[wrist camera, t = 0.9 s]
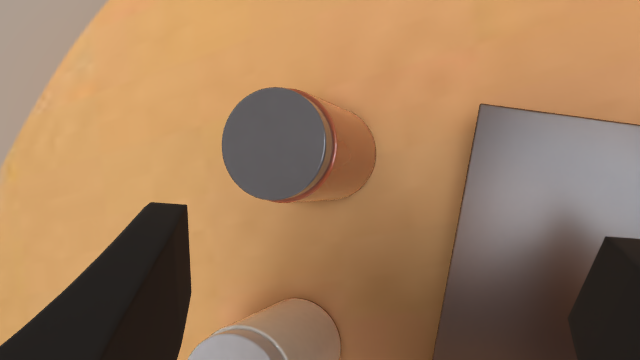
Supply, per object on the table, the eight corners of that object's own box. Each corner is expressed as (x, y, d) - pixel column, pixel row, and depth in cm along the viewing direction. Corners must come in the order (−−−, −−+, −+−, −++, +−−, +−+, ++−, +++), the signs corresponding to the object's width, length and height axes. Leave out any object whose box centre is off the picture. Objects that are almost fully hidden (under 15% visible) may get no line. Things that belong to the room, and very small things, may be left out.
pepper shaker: (366, 207, 26) (317, 214, 20) (281, 190, 27) (209, 191, 21) (383, 115, 26) (338, 92, 19) (296, 102, 27) (228, 77, 21)
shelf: (618, 544, 23) (646, 651, 17) (420, 477, 25) (393, 554, 20) (699, 147, 22) (753, 136, 17) (487, 117, 24) (477, 99, 19)
